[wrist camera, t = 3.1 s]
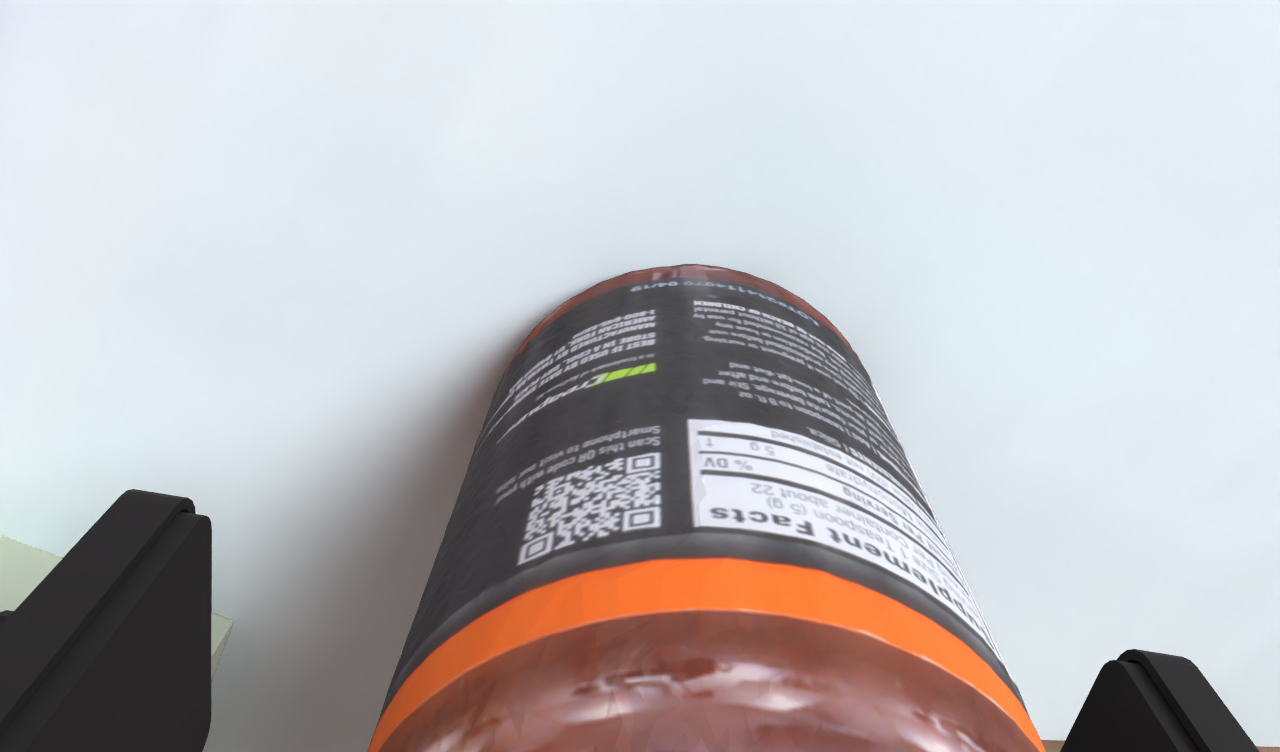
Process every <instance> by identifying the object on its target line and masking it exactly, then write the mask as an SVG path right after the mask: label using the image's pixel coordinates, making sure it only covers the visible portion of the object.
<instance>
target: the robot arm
mask: <svg viewBox="0 0 1280 752" xmlns="http://www.w3.org/2000/svg"><path fill="white" fill-rule="evenodd" d="M211 581H212V528H211V521H210V519H209V517H207V516H204V515H198V514H195V506H194V504H193V501H192V500H190V499H189V498H185V497H179V496H173V495H166V494H160V493H154V492H148V491H141V490H135V489H132V490H127V491H126V492H125V493H123V494H122V495H121V496H120V497H119V498H118V499H117V500H116V501H115V502H114V503H113V505H112V506H111V507H110V508H109V509H108V510H107V511H106V512H105V513H104V514H103V515H102V516H101V518H100V519H99V520H98V521H97V522H96V523H95V524H94V525H93V526H92V527H91V528H90V529H89V531H88V532H87V533H86V534H85V535H84V536H83V537H82V538H81V539H80V540H79V541H78V542H77V544H76V545H75V546H74V547H73V548H72V549H71V550H70V551H69V552H68V553H67V554H66V555H65V557H64V558H63V559H62V560H61V561H60V562H59V563H58V564H57V565H56V566H55V567H54V568H53V570H52V571H51V572H50V573H49V574H48V575H47V576H46V577H45V578H44V579H43V580H42V581H41V583H40V584H39V585H38V586H37V587H36V588H35V589H34V590H33V591H32V592H31V593H30V594H29V596H28V597H27V598H26V599H25V600H24V601H23V602H22V603H21V604H20V605H19V606H18V607H17V608H16V610H15V611H10V610H5V611H2V612H0V752H202V751H203V748H204V745H205V743H206V740H207V736H208V732H209V728H210V722H211ZM1060 752H1259V750H1258V749H1257V748H1256V746H1255V745H1254V744H1253V742H1252V741H1251V739H1250V738H1249V737H1248V735H1247V734H1246V733H1245V731H1244V730H1243V729H1242V727H1241V726H1240V725H1239V723H1238V722H1237V721H1236V719H1235V718H1234V716H1233V715H1232V714H1231V712H1230V711H1229V710H1228V708H1227V707H1226V706H1225V704H1224V703H1223V702H1222V700H1221V699H1220V697H1219V696H1218V695H1217V693H1216V692H1215V691H1214V689H1213V688H1212V687H1211V685H1210V684H1209V683H1208V681H1207V680H1206V678H1205V677H1204V676H1203V674H1202V673H1201V672H1200V670H1199V669H1198V668H1197V667H1196V666H1195V665H1194V664H1193V663H1192V662H1191V661H1190V660H1189V659H1186V658H1184V657H1180V656H1174V655H1168V654H1161V653H1155V652H1149V651H1143V650H1136V649H1132V650H1127V651H1125V652H1124V653H1122V654H1121V655H1120V656H1119V658H1118V659H1117V660H1112V661H1109V662H1107V663H1106V664H1104V666H1103V667H1102V669H1101V670H1100V672H1099V674H1098V676H1097V678H1096V680H1095V682H1094V684H1093V686H1092V688H1091V690H1090V692H1089V695H1088V697H1087V699H1086V701H1085V703H1084V705H1083V707H1082V709H1081V711H1080V713H1079V715H1078V717H1077V719H1076V721H1075V723H1074V725H1073V727H1072V729H1071V731H1070V733H1069V735H1068V737H1067V739H1066V741H1065V743H1064V745H1063V747H1062V749H1061V751H1060Z"/></svg>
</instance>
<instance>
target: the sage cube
mask: <svg viewBox="0 0 1280 752" xmlns="http://www.w3.org/2000/svg"><path fill="white" fill-rule="evenodd" d="M62 559H63V558H61V557H59V556H56V555H53V554H51V553H48V552H45V551H43V550H40V549H37V548H34V547H32V546H29V545H26V544H24V543H21V542H18V541H16V540H13V539H10V538H8V537H5V536H2V535H0V612H2V611H5V610H10V611H15V610H16V608H17V607H18V606H19V605H20V604H21V603H22V602H23V601H24V600H25V599H26V598H27V597H28V596H29V594H30V593H31V592H32V591H33V590H34V589H35V588H36V587H37V586H38V585H39V584H40V583H41V581H42V580H43V579H44V578H45V577H46V576H47V575H48V574H49V573H50V572H51V571H52V570H53V568H54V567H55V566H56V565H57V564H58V563H59V562H60V561H61V560H62ZM233 622H234V621H231V620H229V619H226V618H223V617H221V616H218V615H215V614H213V613H211V681H212V679H213V676H214V673H215V671H216V668H217V665H218V662H219V660H220V657H221V654H222V652H223V649H224V646H225V644H226V641H227V638H228V635H229V633H230V630H231V627H232V625H233Z"/></svg>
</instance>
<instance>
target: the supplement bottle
mask: <svg viewBox="0 0 1280 752" xmlns="http://www.w3.org/2000/svg"><path fill="white" fill-rule="evenodd" d="M368 752H1046V750H1045V748H1044V746H1043V744H1042V742H1041V740H1040V737H1039V735H1038V733H1037V731H1036V729H1035V727H1034V725H1033V724H1032V722H1031V720H1030V717H1029V715H1028V712H1027V710H1026V707H1025V705H1024V702H1023V700H1022V697H1021V695H1020V692H1019V690H1018V687H1017V685H1016V684H1015V682H1014V680H1013V678H1012V676H1011V674H1010V672H1009V670H1008V668H1007V666H1006V664H1005V661H1004V659H1003V657H1002V655H1001V653H1000V651H999V649H998V647H997V644H996V642H995V640H994V638H993V636H992V634H991V632H990V630H989V628H988V626H987V623H986V621H985V619H984V617H983V615H982V613H981V611H980V609H979V607H978V605H977V602H976V600H975V598H974V596H973V594H972V592H971V590H970V588H969V586H968V584H967V581H966V579H965V577H964V575H963V573H962V571H961V569H960V567H959V564H958V562H957V560H956V558H955V556H954V554H953V552H952V550H951V548H950V545H949V543H948V541H947V539H946V537H945V535H944V533H943V531H942V529H941V526H940V524H939V522H938V520H937V518H936V516H935V514H934V512H933V509H932V507H931V505H930V503H929V501H928V499H927V497H926V495H925V493H924V490H923V488H922V486H921V484H920V482H919V480H918V478H917V475H916V473H915V471H914V469H913V467H912V465H911V463H910V460H909V458H908V456H907V454H906V452H905V450H904V448H903V445H902V443H901V441H900V439H899V437H898V435H897V433H896V431H895V428H894V426H893V424H892V422H891V420H890V418H889V416H888V413H887V411H886V409H885V407H884V405H883V403H882V401H881V399H880V397H879V395H878V392H877V390H876V389H875V387H874V386H873V384H872V382H871V380H870V377H869V375H868V373H867V372H866V370H865V368H864V367H863V365H862V364H861V361H860V360H859V358H858V356H857V354H856V353H855V352H854V351H853V350H852V348H851V346H850V344H849V342H848V341H847V340H846V339H845V338H844V337H843V335H842V334H841V332H840V331H839V330H838V329H837V328H836V327H835V326H834V325H833V324H832V323H831V322H830V321H829V320H828V319H827V318H826V317H825V316H824V315H822V314H821V313H820V312H818V311H817V310H816V309H815V308H813V307H812V306H811V305H810V304H808V303H807V302H806V301H804V300H803V299H801V298H800V297H798V296H796V295H794V294H793V293H791V292H789V291H787V290H785V289H784V288H782V287H780V286H778V285H776V284H774V283H772V282H770V281H767V280H764V279H761V278H757V277H755V276H752V275H750V274H747V273H744V272H740V271H735V270H731V269H727V268H723V267H716V266H708V265H699V264H683V265H677V266H670V267H656V268H650V269H645V270H638V271H632V272H628V273H625V274H623V275H620V276H617V277H615V278H612V279H609V280H606V281H603V282H600V283H598V284H596V285H595V286H593V287H591V288H589V289H587V290H586V291H584V292H582V293H580V294H579V295H577V296H575V297H573V298H571V299H570V300H568V301H567V302H565V303H563V304H562V305H561V306H559V307H558V308H557V309H556V310H555V311H554V312H553V313H552V314H550V315H549V316H548V317H546V318H545V319H544V320H543V321H542V322H541V323H540V324H539V325H538V326H537V327H536V328H535V329H534V330H533V331H532V332H531V334H530V335H529V336H528V337H527V339H526V340H525V341H524V343H523V344H522V346H521V347H520V349H519V350H518V352H517V353H516V355H515V356H514V358H513V360H512V361H511V363H510V365H509V366H508V368H507V370H506V372H505V374H504V376H503V378H502V381H501V382H500V384H499V386H498V388H497V390H496V393H495V395H494V397H493V400H492V403H491V406H490V408H489V411H488V414H487V417H486V419H485V422H484V425H483V428H482V430H481V433H480V435H479V437H478V440H477V443H476V446H475V448H474V453H473V456H472V458H471V461H470V463H469V467H468V470H467V474H466V477H465V479H464V481H463V484H462V486H461V490H460V493H459V496H458V499H457V502H456V504H455V507H454V510H453V513H452V516H451V518H450V520H449V523H448V525H447V528H446V532H445V536H444V538H443V541H442V543H441V545H440V548H439V551H438V554H437V557H436V560H435V563H434V565H433V568H432V571H431V574H430V576H429V579H428V582H427V585H426V588H425V590H424V593H423V596H422V599H421V601H420V604H419V607H418V610H417V613H416V616H415V618H414V621H413V624H412V626H411V629H410V632H409V634H408V637H407V640H406V642H405V645H404V648H403V652H402V655H401V658H400V660H399V663H398V666H397V668H396V671H395V673H394V676H393V678H392V681H391V684H390V687H389V690H388V693H387V696H386V699H385V702H384V706H383V709H382V712H381V715H380V718H379V721H378V724H377V727H376V729H375V732H374V735H373V738H372V741H371V743H370V746H369V749H368Z"/></svg>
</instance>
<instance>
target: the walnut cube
mask: <svg viewBox="0 0 1280 752" xmlns="http://www.w3.org/2000/svg"><path fill="white" fill-rule="evenodd" d="M1041 742H1042V744H1043V746H1044V748H1045V750H1046V752H1060V751H1061V749H1062V747H1063V745H1064V743H1065V741H1054V740H1041ZM1256 748H1257V749H1258V750H1259V752H1280V747H1258V746H1256Z"/></svg>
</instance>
